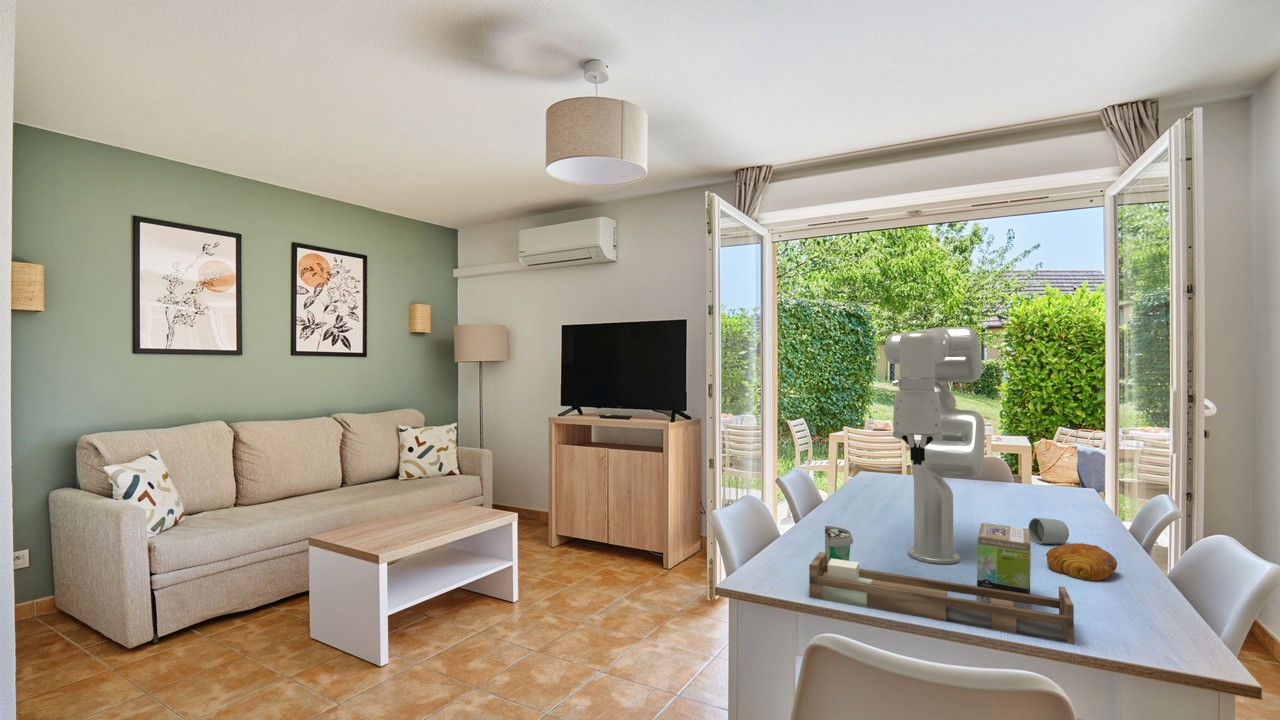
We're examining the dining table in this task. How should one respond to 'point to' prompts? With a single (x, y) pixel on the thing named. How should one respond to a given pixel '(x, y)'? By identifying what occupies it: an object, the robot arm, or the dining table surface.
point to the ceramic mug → (1048, 531)
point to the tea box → (1004, 560)
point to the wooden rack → (947, 601)
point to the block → (843, 570)
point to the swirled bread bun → (1081, 561)
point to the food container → (837, 543)
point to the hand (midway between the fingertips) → (917, 463)
